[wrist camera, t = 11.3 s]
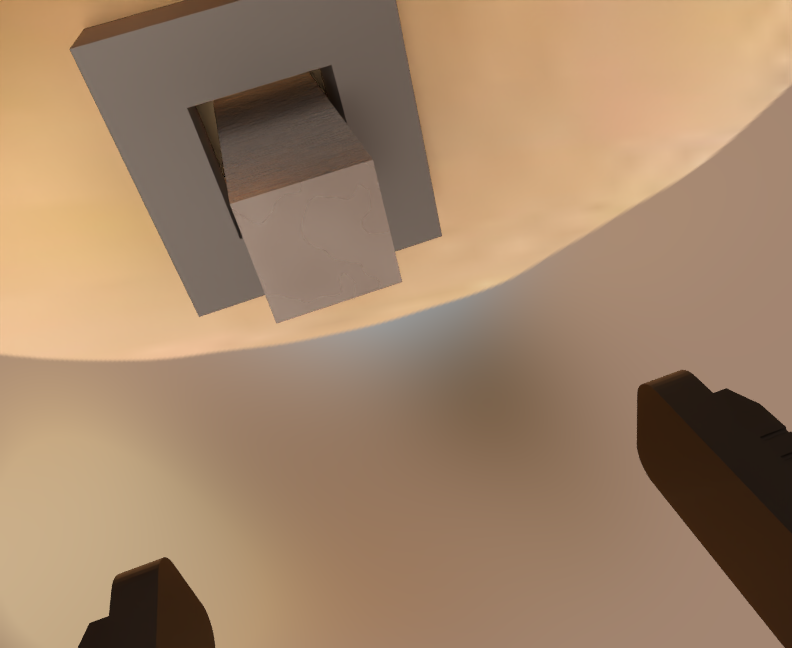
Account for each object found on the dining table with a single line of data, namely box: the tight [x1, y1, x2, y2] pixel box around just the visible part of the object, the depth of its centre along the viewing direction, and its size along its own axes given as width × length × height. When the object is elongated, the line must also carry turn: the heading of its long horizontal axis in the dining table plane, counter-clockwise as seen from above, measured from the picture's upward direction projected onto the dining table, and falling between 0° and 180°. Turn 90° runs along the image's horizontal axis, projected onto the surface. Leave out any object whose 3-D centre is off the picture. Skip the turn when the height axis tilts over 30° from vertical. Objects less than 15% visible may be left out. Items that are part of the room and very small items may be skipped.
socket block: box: [70, 0, 442, 317], centre depth 27 cm, size 11×11×4 cm
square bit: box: [213, 72, 402, 323], centre depth 24 cm, size 4×4×12 cm
